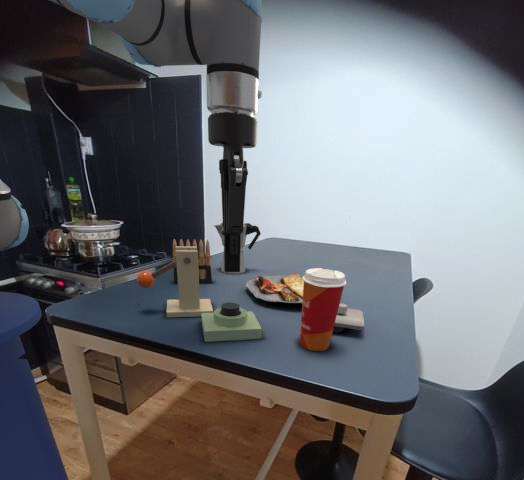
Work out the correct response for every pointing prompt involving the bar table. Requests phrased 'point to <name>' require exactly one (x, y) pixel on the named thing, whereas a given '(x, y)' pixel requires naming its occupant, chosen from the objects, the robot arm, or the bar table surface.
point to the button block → (230, 326)
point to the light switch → (348, 319)
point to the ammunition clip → (203, 265)
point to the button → (230, 309)
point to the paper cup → (320, 307)
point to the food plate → (278, 288)
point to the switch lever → (153, 275)
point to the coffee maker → (247, 230)
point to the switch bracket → (188, 286)
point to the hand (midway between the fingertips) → (232, 270)
